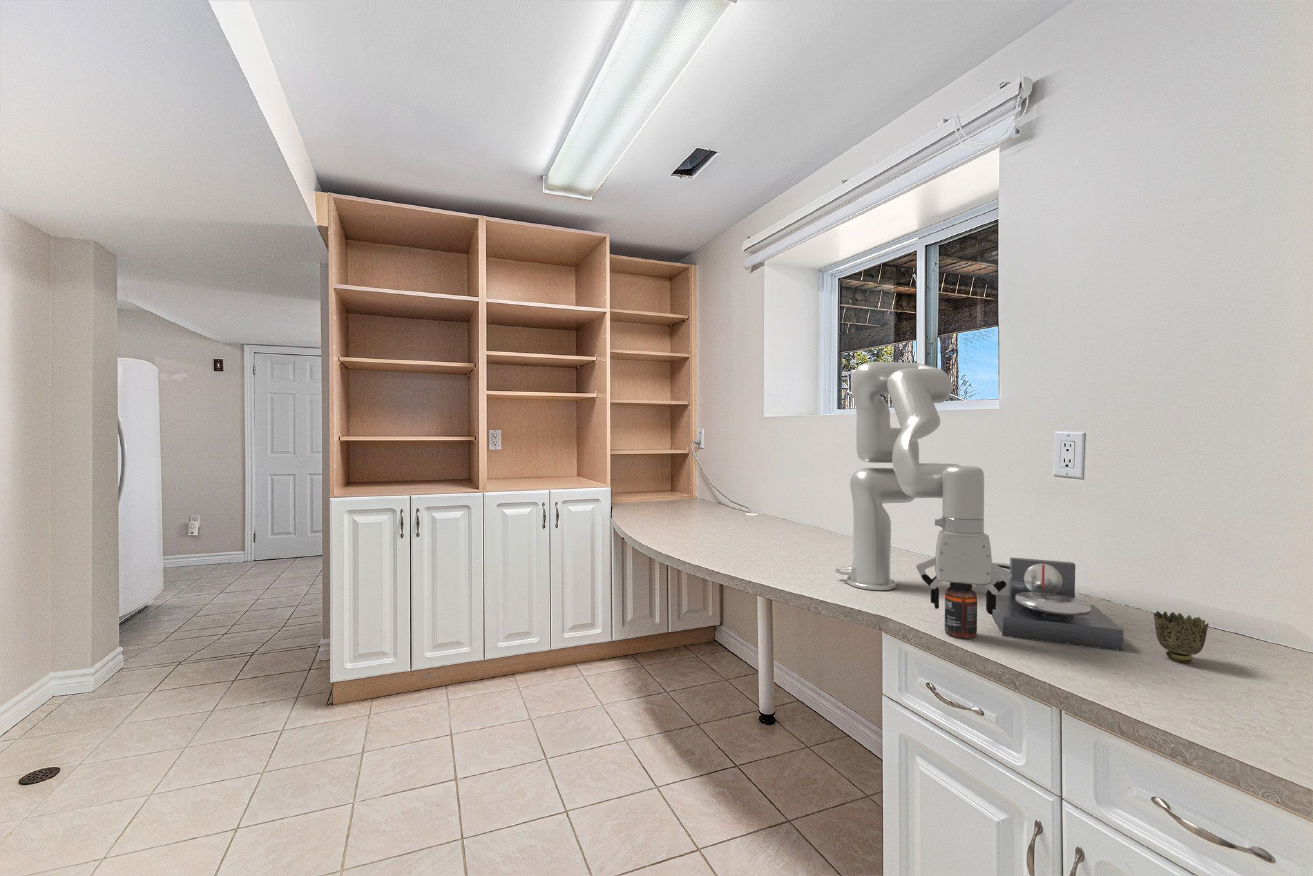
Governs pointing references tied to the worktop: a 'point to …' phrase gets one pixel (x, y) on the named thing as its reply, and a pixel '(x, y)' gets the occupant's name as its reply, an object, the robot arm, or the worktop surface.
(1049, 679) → the worktop surface
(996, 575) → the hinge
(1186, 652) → the cup
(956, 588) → the supplement bottle
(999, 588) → the robot arm
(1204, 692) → the worktop surface
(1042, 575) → the dial scale
